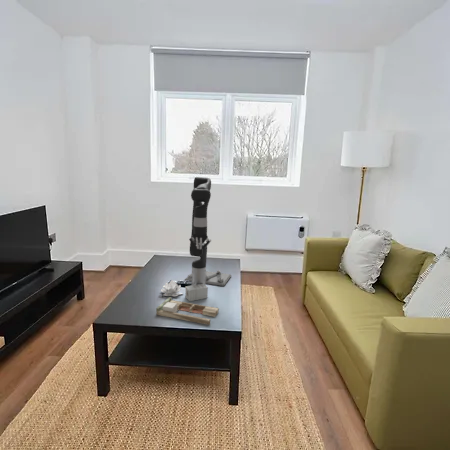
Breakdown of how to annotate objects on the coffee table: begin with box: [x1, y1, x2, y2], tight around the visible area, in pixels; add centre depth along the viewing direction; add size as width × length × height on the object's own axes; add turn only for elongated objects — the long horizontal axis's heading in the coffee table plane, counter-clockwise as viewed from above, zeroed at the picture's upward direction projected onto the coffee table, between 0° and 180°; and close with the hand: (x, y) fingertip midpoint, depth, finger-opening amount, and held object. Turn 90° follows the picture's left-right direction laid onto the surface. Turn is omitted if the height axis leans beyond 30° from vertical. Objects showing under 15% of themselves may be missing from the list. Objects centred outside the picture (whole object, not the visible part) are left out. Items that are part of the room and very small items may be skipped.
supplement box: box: [185, 284, 209, 302], centre depth 200 cm, size 7×7×13 cm
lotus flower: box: [160, 279, 184, 297], centre depth 204 cm, size 14×15×9 cm
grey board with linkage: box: [184, 270, 232, 287], centre depth 233 cm, size 30×22×7 cm
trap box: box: [155, 296, 220, 326], centre depth 179 cm, size 16×32×4 cm, turn 73°
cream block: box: [163, 302, 178, 313], centre depth 179 cm, size 6×6×5 cm
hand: (199, 255), depth 179 cm, fingers closed
